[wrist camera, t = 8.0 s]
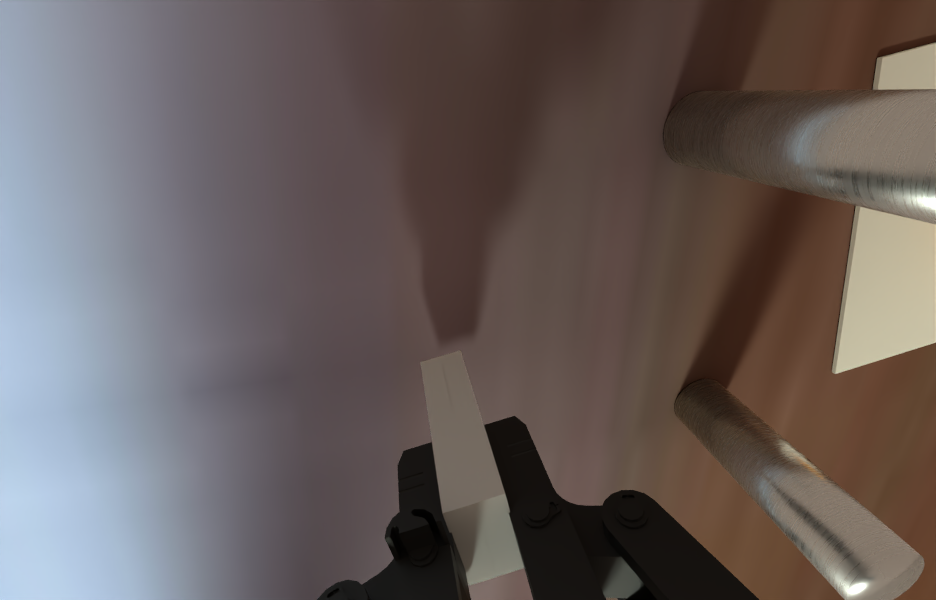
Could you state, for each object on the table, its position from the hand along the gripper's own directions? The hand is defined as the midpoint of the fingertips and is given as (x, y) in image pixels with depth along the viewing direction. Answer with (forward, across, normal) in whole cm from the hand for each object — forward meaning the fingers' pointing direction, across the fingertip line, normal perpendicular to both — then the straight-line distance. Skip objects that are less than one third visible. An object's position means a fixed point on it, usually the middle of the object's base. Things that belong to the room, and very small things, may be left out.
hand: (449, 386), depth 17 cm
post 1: (+2, +11, +6) cm, 13 cm away
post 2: (+2, +11, -6) cm, 13 cm away
